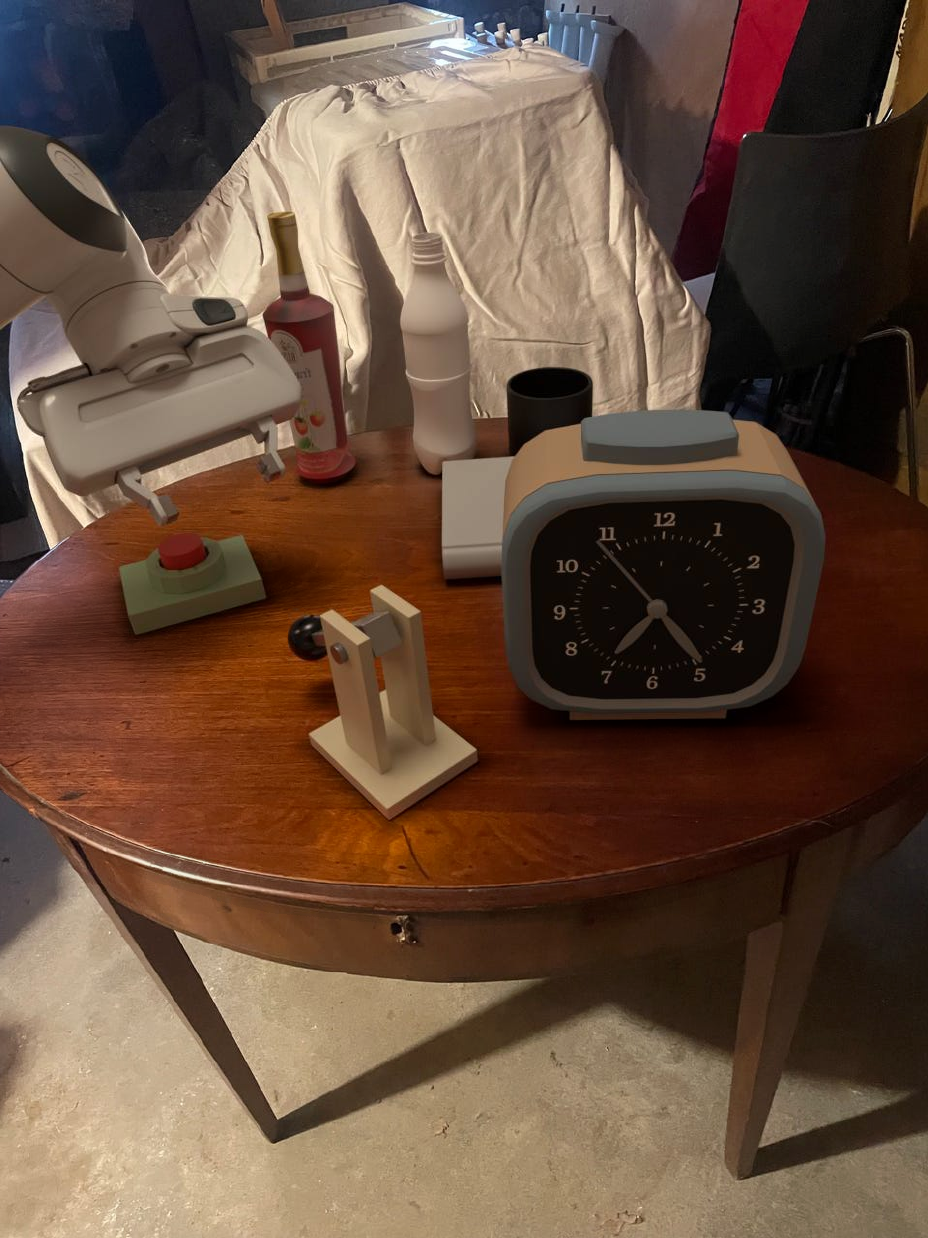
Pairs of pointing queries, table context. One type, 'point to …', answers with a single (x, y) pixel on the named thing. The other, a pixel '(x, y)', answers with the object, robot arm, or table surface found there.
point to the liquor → (309, 361)
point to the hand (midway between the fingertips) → (225, 498)
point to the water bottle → (437, 359)
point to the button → (182, 551)
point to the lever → (377, 626)
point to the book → (473, 516)
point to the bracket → (387, 713)
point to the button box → (190, 586)
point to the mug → (546, 402)
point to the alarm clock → (657, 566)
